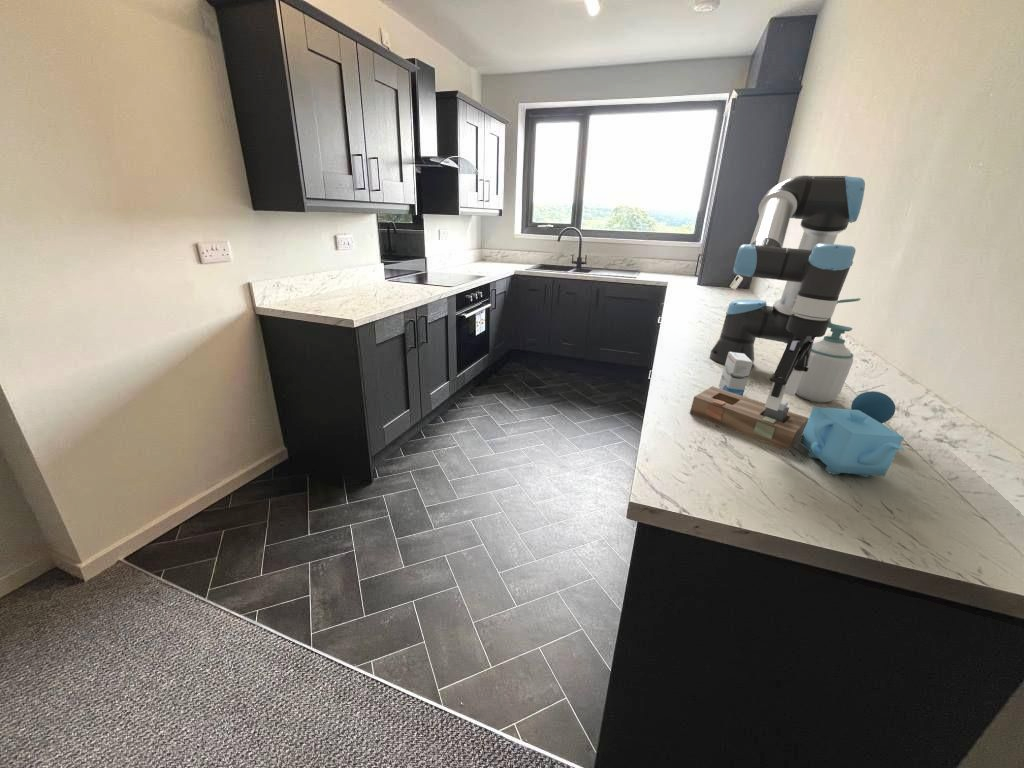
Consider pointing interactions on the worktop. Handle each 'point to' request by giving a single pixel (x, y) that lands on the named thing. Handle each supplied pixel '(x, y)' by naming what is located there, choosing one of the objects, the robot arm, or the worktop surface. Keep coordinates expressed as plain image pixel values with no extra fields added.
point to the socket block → (748, 417)
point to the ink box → (735, 373)
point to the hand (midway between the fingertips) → (780, 401)
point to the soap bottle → (827, 366)
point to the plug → (778, 412)
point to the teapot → (850, 441)
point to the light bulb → (875, 405)
